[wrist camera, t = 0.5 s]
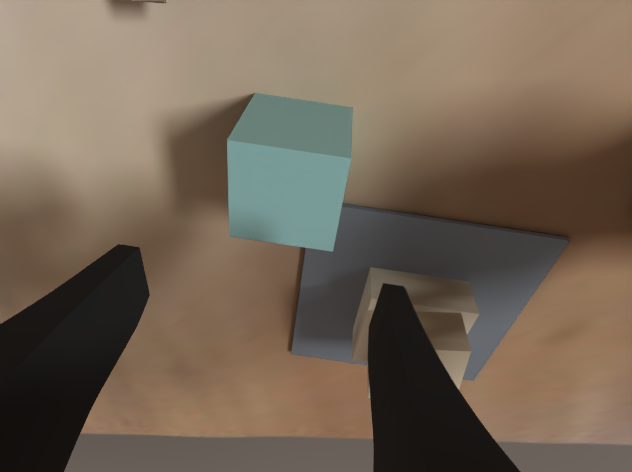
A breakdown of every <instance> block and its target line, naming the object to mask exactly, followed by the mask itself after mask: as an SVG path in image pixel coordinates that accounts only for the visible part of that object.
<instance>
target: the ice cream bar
mask: <svg viewBox="0 0 632 472" xmlns="http://www.w3.org/2000/svg"><path fill="white" fill-rule="evenodd" d="M130 1H141V2H155V3H166V0H130Z"/></svg>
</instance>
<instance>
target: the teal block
mask: <svg viewBox="0 0 632 472" xmlns="http://www.w3.org/2000/svg"><path fill="white" fill-rule="evenodd" d="M352 114H353V108H352V107H345V106H339V105H332V104H325V103H319V102H312V101H305V100H299V99H292V98H286V97H279V96H272V95H266V94H259V93H255V94H254V95H253V97H252V99H251V100H250V102H249V104H248V105H247V107H246V109H245V111H244V112H243V114H242V116H241V117H240V119H239V121H238V122H237V124H236V126H235V127H234V129H233V131H232V132H231V134H230V136H229V137H228V139H227V163H228V204H229V237H236V238H243V239H250V240H257V241H264V242H270V243H277V244H284V245H291V246H298V247H305V248H311V249H318V250H325V251H332V252H333V248H334V243H335V238H336V233H337V228H338V223H339V218H340V213H341V208H342V203H343V198H344V193H345V187H346V182H347V177H348V172H349V167H350V162H351V148H352Z"/></svg>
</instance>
